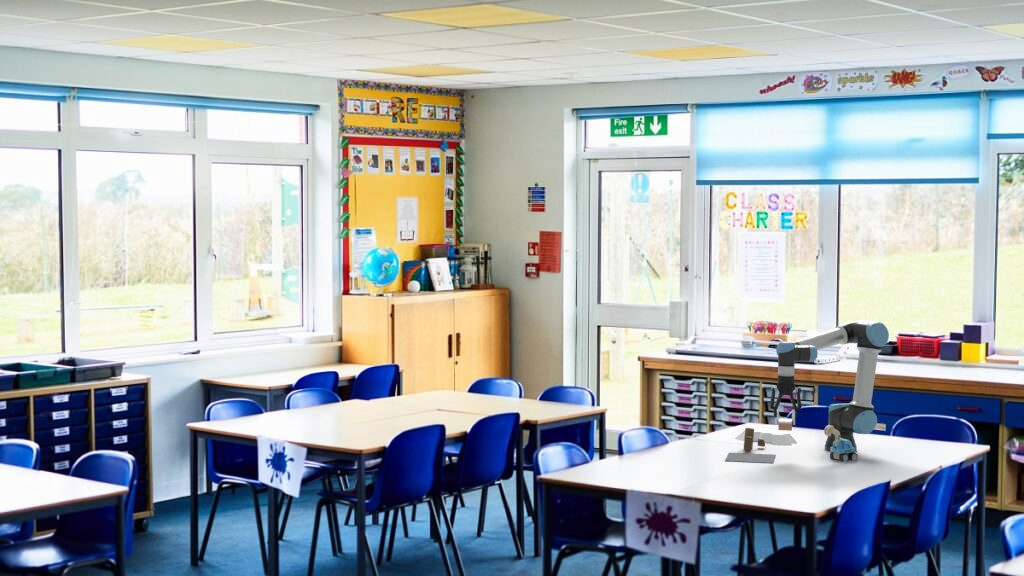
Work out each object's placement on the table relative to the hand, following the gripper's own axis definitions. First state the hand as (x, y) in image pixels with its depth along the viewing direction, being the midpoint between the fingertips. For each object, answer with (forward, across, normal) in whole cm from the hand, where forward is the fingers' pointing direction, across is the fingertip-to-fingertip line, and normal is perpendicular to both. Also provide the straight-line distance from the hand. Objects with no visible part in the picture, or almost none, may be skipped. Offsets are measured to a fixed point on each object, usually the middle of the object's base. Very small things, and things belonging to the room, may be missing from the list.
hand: (785, 424), depth 570 cm
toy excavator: (+17, -25, -1) cm, 31 cm away
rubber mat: (+17, +15, -4) cm, 23 cm away
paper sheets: (+18, -4, -56) cm, 59 cm away
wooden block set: (+17, +10, -28) cm, 35 cm away
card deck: (+2, 0, 0) cm, 2 cm away
